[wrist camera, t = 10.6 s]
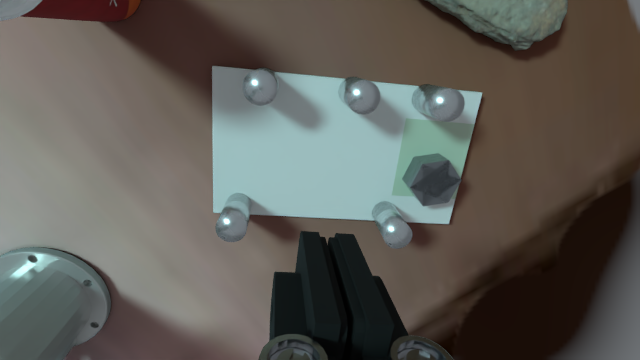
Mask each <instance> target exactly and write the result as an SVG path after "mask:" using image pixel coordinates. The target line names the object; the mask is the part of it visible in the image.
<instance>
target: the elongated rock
mask: <svg viewBox="0 0 640 360" xmlns="http://www.w3.org/2000/svg"><path fill="white" fill-rule="evenodd" d="M425 1H429V2H430V3H431V4H433V5H434V6H436V7H438V8H439V9H440V10H441V11H443V12H447V13H449V14H451V15H453V16H455V17H457V18H458V19H459V20H461V21H462V23H464V24H465V25H467V26H468V27H469V28H470V29H471V30H473V31H474V32H477V33H482V34H484V35H486V36H488V37H490V38H492V39H494V41H495V42H500V43H504V44H510V45H511V46H512V47H513V49H514V50H515V51H517V50H524V49H527V48H530V46H531V45H532V44H533V42H535V41H541V40H543V39H544V38H545V37H547V36H549V35H551V34H553V33H554V32H555V31H558V30H560V27H561V24H562V21H563V19H564V17H565V15H566V13H567V0H425Z"/></svg>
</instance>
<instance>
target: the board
mask: <svg viewBox="0 0 640 360" xmlns="http://www.w3.org/2000/svg"><path fill="white" fill-rule="evenodd" d="M252 71H254V70H252V69H242V68H232V67H222V66H212V115H213V213H221V212H222V210H223V207H224V205H225V202H226V200H227V198H228V197H229V196H230V195H232V194H234V193H243V194H245V195H247V196H248V197H249V198H250V199H251V202H252V209H251V213H250V214H252V215H272V216H293V217H313V218H333V219H354V220H374V219H373V217H372V210H373V208H374V206H375V205H376V204H378V203H379V202H382V201H388V202H391V203H392V204H393V205H394V206H395V207H396V209H397V210H398V212H399V213H400V214H401V216H402V217H403V219H404V220H405V221H406V222H415V223H435V224H449V221H450V218H451V214H452V210H453V206H454V202H455V198H456V195H457V191H458V187H459V185H458V187H457V189H456V190H455V192H454V194H453V196H452V197H451V199H450V201H449V202H448V203H442V204H436V205H429V206H422V205H421V204H420V202H419V201H418V200H417V199H416V198H415V197H414V195H413V194H412V193H411V191H410V190H409V188H408V187H407V186H406V184H405V183H404V181H403V180H402V178H403V176H404V174H405V172H406V170H407V168H408V166H409V165H410V163H411V161H412V159H413V157H415V156H422V155H429V154H436V153H439V154H440V155H442V156H443V157H445V158H447V159H448V160H449V161H450V162H451V164H452V166H453V167H454V169H455V170H456V172H457V173H458V175H459V177H460V178H461V175H462V171H463V167H464V163H465V159H466V156H467V152H468V148H469V144H470V140H471V136H472V132H473V128H474V124H475V120H476V116H477V112H478V108H479V104H480V101H481V97H482V93H480V92H473V91H463V90H458V91H459V92H460V93H461V94H462V95H463V97H464V100H465V106H464V110H463V112H462V113H461V115H460V116H459V117H458V118H457V119H455V120H453V121H450V122H443V121H441V120H438V119H436V118H433V117H431V116H429V115H426V114H424V113H422V112H419V111H417V110H416V109H415V108H414V107H413V105H412V95H413V93H414V91H415V90H416V89H417V88H418V87H419V86H413V85H403V84H393V83H383V82H373V81H371V82H373V83H374V84H375V85H376V86H377V87H378V89H379V91H380V102H379V105H378V106H377V108H376V109H375V110H374V111H373V112H371V113H369V114H364V115H362V114H357V113H355V112H354V111H353V110H351V109H350V108H349V107H348V106H347V105H345V104H344V103H343V102H342V101H341V99H340V98H339V94H338V90H339V86H340V84H341V83H342V81H343V80H345V79H343V78H333V77H323V76H313V75H303V74H293V73H283V72H275V74H276V75H277V77H278V80H279V87H278V91H277V94H276V97H275V98H274V100H273V101H272V102H270V103H269V104H267V105H263V106H259V105H255V104H252V103H251V102H249V101H248V100H247V99H246V97H245V96H244V93H243V89H242V84H243V80H244V78H245V77H246V75H247V74H248V73H250V72H252Z"/></svg>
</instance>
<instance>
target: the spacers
mask: <svg viewBox="0 0 640 360" xmlns="http://www.w3.org/2000/svg"><path fill="white" fill-rule="evenodd" d="M278 87H279V80H278V77H277V75H276V74H275V72H273V71H272V70H271V69H268V68H259V69H256V70H254V71H252V72H250V73H248V74H247V75H246V77H245V78H244V80H243V84H242V89H243V93H244V96H245V97H246V99H247V100H248V101H249V102H251V103H252V104H255V105H259V106H263V105H267V104H269V103H270V102H272V101H273V100H274V98H275V97H276V94H277V91H278ZM338 94H339V98H340V99H341V101H342V102H343V103H344V104H345V105H347V106H348V107H349V108H350V109H351V110H353V111H354V112H355V113H357V114H362V115H364V114H369V113H371V112H373V111H374V110H375V109H376V108H377V106H378V105H379V102H380V91H379V89H378V87H377V86H376V85H375V84H374V83H373V82H371V81H368V80H364V79H361V78H358V77H348V78H346V79H345V80H343V81H342V83H341V84H340V86H339V90H338ZM412 105H413V107H414V108H415V109H416V110H417V111H419V112H422V113H424V114H426V115H429V116H431V117H433V118H436V119H438V120H441V121H443V122H450V121H453V120H455V119H457V118H458V117H459V116H460V115H461V113H462V112H463V110H464V106H465V100H464V97H463V95H462V94H461V93H460V92H459V91H458V90H455V89H450V88H445V87H440V86H435V85H430V84H424V85H421V86H419V87H418V88H417V89H416V90H415V91H414V93H413V95H412ZM251 209H252V202H251V199H250V198H249V197H248V196H247V195H245V194H243V193H234V194H232V195H230V196H229V197H228V198H227V200H226V202H225V205H224V207H223V210H222V212H221V214H220V217H219V219H218V221H217V224H216V233H217V235H218V236H219V237H220V238H221V239H223V240H224V241H227V242H236V241H239V240H241V239H242V238H243V237H244V236H245V234H246V230H247V226H248V222H249V217H250V213H251ZM372 217H373V219H374V221H375V223H376V225H377V227H378V229H379V231H380V233H381V234H382V236H383V238H384V240H385V242H386V244H387V245H388V246H389V247H391V248H396V249H397V248H402V247H404V246H406V245H407V244H408V243H409V242H410V241H411V239H412V230H411V228H410V227H409V226H408V224H407V223H406V221H405V220H404V219H403V217H402V216H401V214H400V213H399V212H398V210H397V209H396V207H395V206H394V205H393V204H392V203H391V202H388V201H382V202H379V203H378V204H376V205H375V206H374V208H373V210H372Z"/></svg>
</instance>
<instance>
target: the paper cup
mask: <svg viewBox="0 0 640 360" xmlns="http://www.w3.org/2000/svg"><path fill="white" fill-rule="evenodd" d="M140 1H141V0H0V21H2V20H9V19H13V18H16V17H19V16H23V17H38V18H52V19H67V20H82V21H100V22H115V21H121V20H124V19H126V18H128V17H130V16H131V15H132V14H133V13H134V12H135V11H136V10H137V8H138V6H139V4H140Z"/></svg>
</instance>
